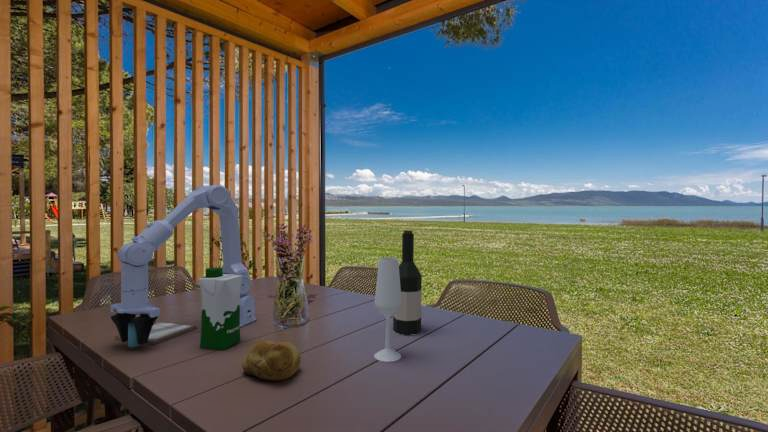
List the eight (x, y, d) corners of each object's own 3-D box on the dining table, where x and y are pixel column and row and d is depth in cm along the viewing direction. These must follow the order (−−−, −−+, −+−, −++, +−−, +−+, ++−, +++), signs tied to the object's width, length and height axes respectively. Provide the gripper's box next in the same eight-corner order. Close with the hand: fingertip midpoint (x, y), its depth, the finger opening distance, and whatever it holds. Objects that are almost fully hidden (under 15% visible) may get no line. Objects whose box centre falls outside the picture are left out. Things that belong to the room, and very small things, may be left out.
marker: (144, 346, 93) (144, 321, 93) (133, 350, 90) (133, 324, 90) (135, 345, 94) (135, 320, 94) (124, 349, 91) (124, 323, 91)
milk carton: (216, 337, 100) (217, 265, 100) (245, 340, 98) (246, 267, 98) (194, 349, 91) (194, 270, 91) (225, 352, 90) (226, 272, 89)
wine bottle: (420, 327, 111) (421, 230, 111) (421, 336, 103) (422, 231, 102) (394, 325, 112) (395, 229, 112) (392, 334, 104) (393, 231, 103)
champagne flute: (405, 354, 89) (407, 258, 89) (392, 363, 84) (393, 261, 83) (382, 348, 93) (383, 256, 93) (368, 357, 87) (369, 259, 87)
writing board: (196, 328, 107) (196, 325, 107) (154, 344, 94) (154, 341, 94) (161, 323, 111) (161, 320, 111) (115, 338, 98) (115, 335, 98)
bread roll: (231, 377, 76) (232, 340, 76) (262, 360, 85) (263, 326, 85) (281, 389, 71) (282, 349, 71) (309, 369, 80) (309, 334, 80)
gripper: (98, 290, 90) (97, 344, 90) (141, 294, 86) (141, 351, 86) (125, 285, 97) (125, 335, 97) (167, 288, 93) (166, 341, 93)
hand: (134, 342), depth 92 cm, fingers open, 5 cm apart
